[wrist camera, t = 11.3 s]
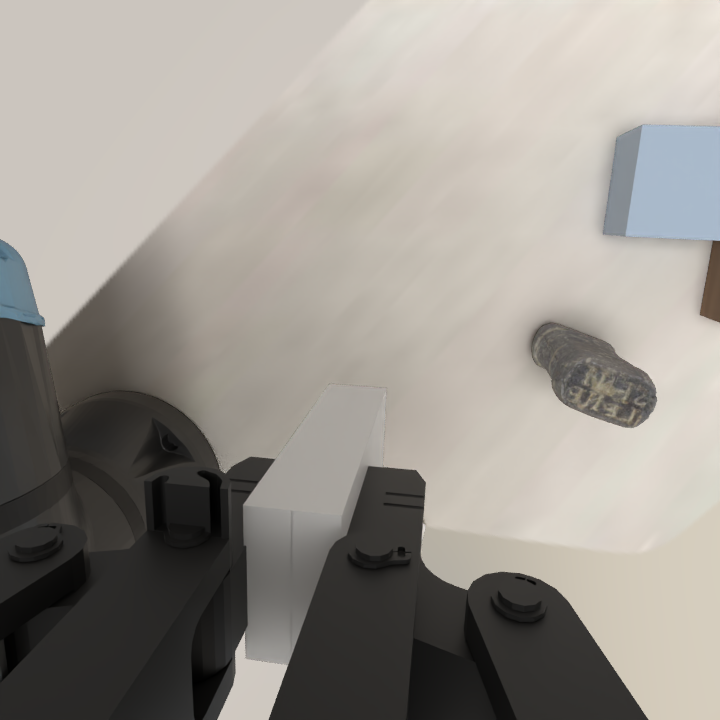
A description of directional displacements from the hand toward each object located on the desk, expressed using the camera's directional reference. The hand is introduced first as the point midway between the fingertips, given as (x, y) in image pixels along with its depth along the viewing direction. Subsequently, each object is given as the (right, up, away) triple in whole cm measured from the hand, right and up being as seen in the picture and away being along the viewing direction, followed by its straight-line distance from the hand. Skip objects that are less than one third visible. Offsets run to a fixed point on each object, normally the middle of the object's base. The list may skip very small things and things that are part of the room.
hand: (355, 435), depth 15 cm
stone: (+15, +3, +25) cm, 29 cm away
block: (+19, +13, +22) cm, 32 cm away
